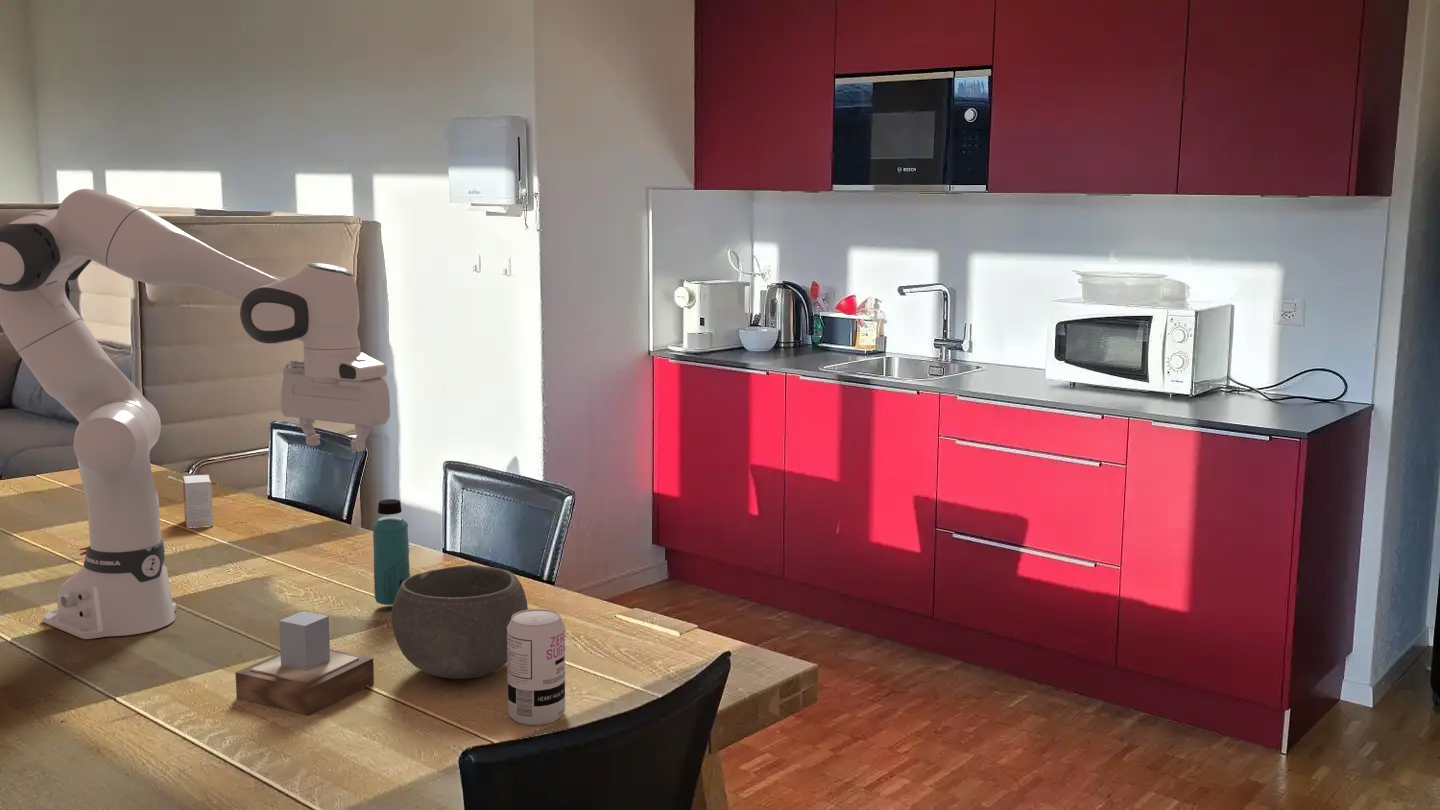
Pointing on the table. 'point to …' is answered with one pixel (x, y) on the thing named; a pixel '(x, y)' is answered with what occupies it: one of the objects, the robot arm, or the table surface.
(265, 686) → the base
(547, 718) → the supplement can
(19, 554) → the table surface
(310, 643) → the block
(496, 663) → the bowl
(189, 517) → the small box
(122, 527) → the robot arm
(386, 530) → the beverage bottle
